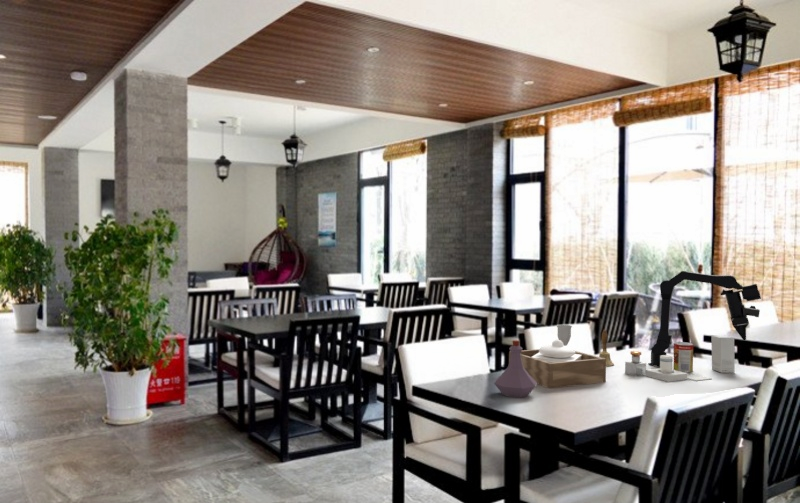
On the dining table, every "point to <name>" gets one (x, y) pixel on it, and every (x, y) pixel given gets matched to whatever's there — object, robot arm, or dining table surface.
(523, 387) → the flask
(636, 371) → the plunger block
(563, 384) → the wooden tray box
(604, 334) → the hand bell
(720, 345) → the skincare box
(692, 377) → the mat
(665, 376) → the white flat block
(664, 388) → the dining table surface
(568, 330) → the chalice
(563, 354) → the butter dish
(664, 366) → the white cylinder
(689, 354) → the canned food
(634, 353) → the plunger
